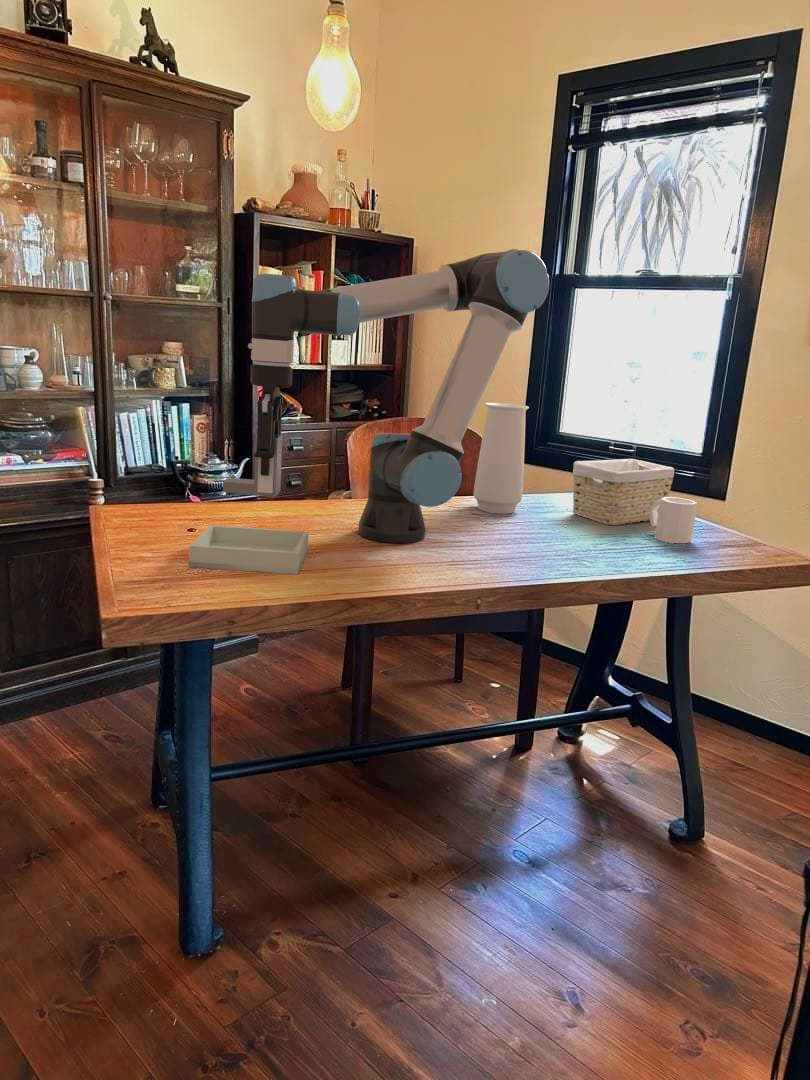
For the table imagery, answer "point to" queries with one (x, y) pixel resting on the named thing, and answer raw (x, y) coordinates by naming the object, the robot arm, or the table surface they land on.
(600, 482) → the storage basket
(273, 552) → the tray
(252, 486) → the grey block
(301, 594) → the table surface
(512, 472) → the vase
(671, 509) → the mug
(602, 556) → the table surface
